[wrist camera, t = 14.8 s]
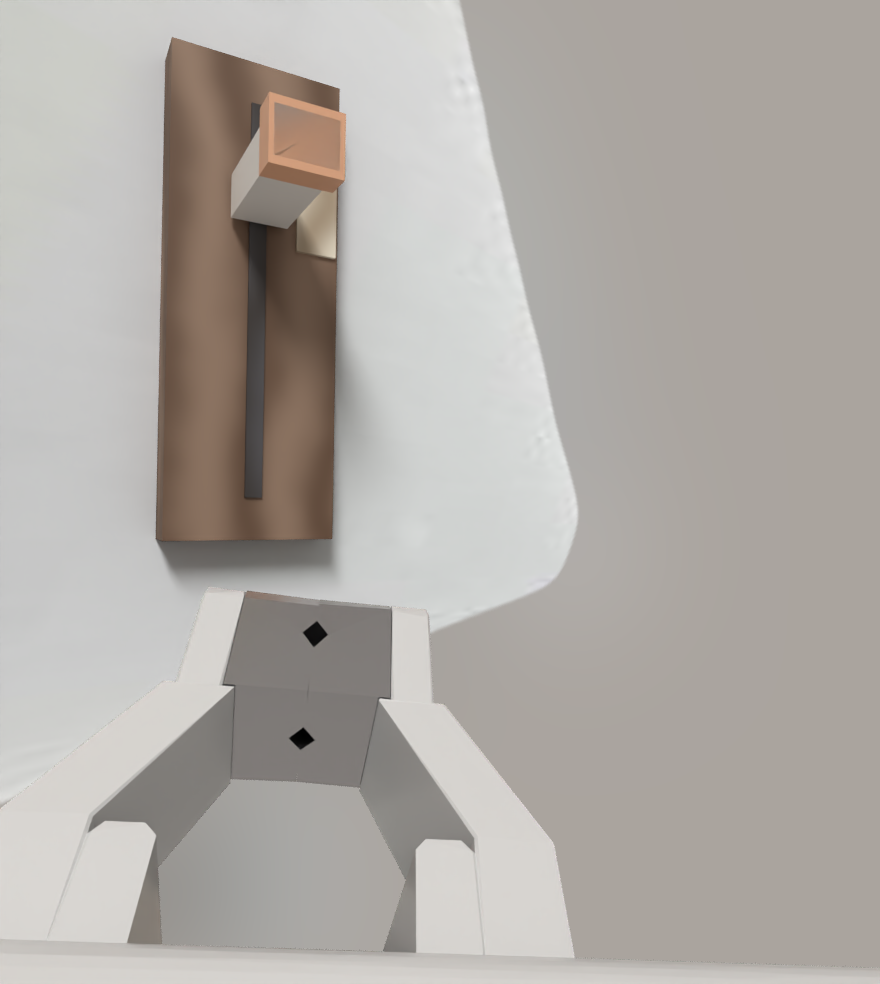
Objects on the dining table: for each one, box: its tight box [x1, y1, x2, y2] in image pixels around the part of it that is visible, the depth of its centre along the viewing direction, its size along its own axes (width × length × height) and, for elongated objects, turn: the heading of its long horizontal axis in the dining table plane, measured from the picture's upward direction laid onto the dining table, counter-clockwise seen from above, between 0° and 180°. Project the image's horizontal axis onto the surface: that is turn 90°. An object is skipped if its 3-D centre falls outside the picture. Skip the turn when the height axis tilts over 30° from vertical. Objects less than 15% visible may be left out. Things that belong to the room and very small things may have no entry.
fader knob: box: [231, 92, 346, 229], centre depth 46 cm, size 5×4×10 cm
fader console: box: [156, 37, 340, 541], centre depth 52 cm, size 12×34×3 cm, turn 179°
